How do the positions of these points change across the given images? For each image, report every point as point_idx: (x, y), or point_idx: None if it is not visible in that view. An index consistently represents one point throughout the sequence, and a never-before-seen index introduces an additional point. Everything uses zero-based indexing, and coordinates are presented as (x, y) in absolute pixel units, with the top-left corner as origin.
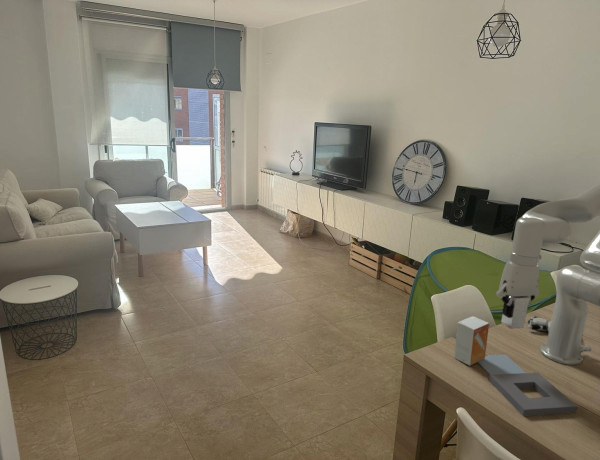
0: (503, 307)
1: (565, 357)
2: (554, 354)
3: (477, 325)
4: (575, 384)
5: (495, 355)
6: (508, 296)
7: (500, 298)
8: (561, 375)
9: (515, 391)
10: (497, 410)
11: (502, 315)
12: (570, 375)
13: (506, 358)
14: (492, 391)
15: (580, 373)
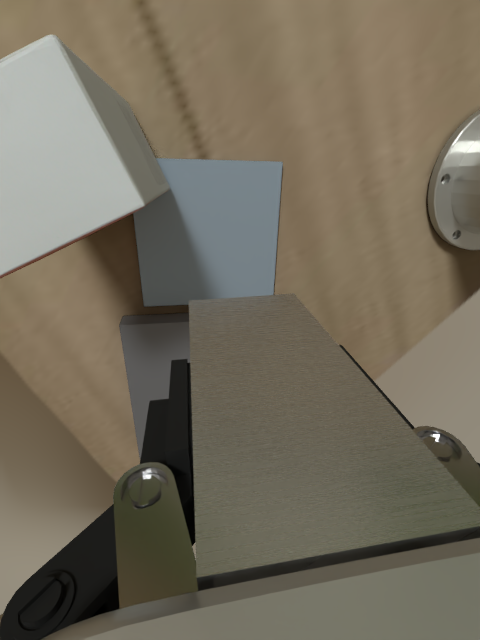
0: (145, 436)
1: (469, 230)
2: (454, 204)
3: (33, 228)
4: (375, 337)
5: (234, 163)
6: (194, 569)
7: (38, 571)
8: (377, 296)
9: (159, 399)
10: (83, 431)
11: (189, 324)
12: (402, 297)
13: (266, 191)
14: (107, 364)
15: (440, 289)
